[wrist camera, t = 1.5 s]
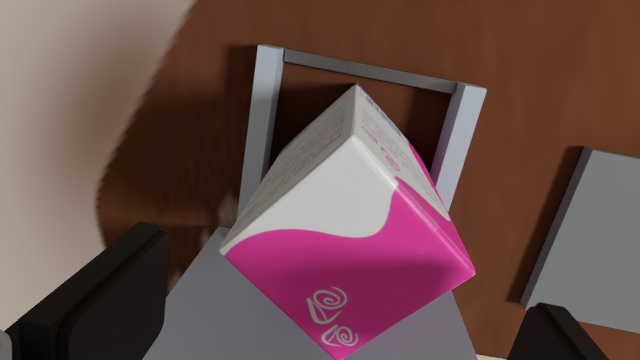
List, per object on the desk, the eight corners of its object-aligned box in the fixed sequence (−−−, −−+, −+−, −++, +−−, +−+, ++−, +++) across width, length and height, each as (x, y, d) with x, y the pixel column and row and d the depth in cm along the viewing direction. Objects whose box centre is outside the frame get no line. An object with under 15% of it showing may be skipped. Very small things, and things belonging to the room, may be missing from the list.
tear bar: (287, 48, 21) (285, 49, 20) (454, 80, 21) (456, 82, 20) (285, 60, 21) (283, 61, 21) (450, 92, 21) (453, 93, 20)
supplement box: (277, 151, 23) (208, 249, 12) (357, 80, 21) (358, 120, 10) (345, 222, 24) (336, 371, 13) (425, 159, 22) (491, 271, 12)
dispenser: (234, 38, 21) (40, 34, 8) (507, 91, 21) (762, 174, 8) (204, 332, 27) (69, 594, 14) (412, 375, 27) (465, 681, 14)
